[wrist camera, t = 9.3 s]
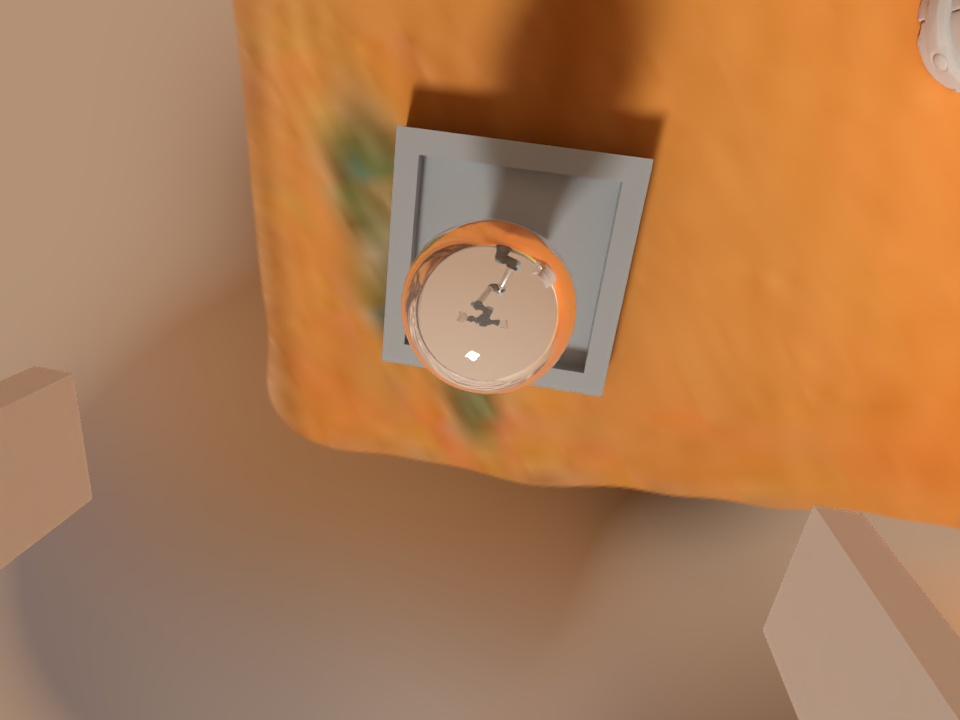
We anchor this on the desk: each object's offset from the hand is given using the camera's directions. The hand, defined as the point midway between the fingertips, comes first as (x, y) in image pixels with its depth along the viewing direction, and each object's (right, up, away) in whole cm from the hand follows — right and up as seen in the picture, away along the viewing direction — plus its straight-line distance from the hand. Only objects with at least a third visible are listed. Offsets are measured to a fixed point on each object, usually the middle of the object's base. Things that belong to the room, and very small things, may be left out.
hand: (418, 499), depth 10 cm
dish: (+3, +8, +21) cm, 23 cm away
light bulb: (+3, +8, +21) cm, 22 cm away
